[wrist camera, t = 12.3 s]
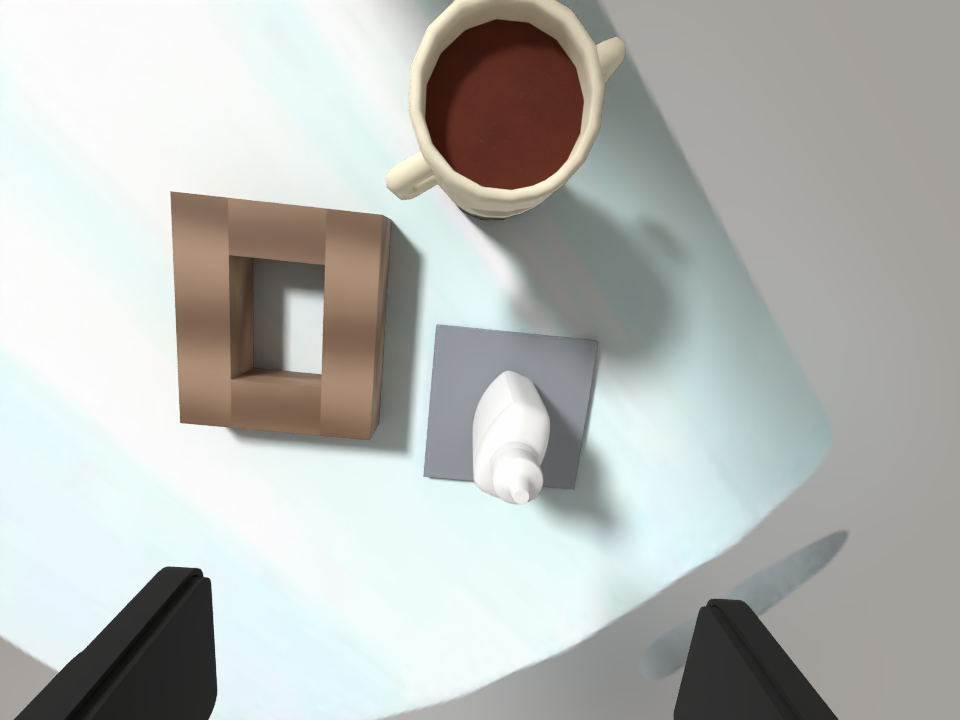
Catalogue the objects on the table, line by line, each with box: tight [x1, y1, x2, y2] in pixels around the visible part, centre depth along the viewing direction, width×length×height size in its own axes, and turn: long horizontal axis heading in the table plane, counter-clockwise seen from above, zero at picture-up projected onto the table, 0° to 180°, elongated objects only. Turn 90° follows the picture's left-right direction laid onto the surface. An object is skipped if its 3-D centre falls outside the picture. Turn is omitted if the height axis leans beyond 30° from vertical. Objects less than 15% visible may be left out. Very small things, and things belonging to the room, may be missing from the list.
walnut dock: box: [171, 192, 391, 440], centre depth 29 cm, size 14×12×3 cm
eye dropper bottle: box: [473, 371, 550, 504], centre depth 25 cm, size 4×6×12 cm
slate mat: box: [423, 324, 598, 489], centre depth 32 cm, size 11×11×1 cm
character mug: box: [386, 0, 625, 220], centre depth 22 cm, size 11×7×13 cm, turn 119°
